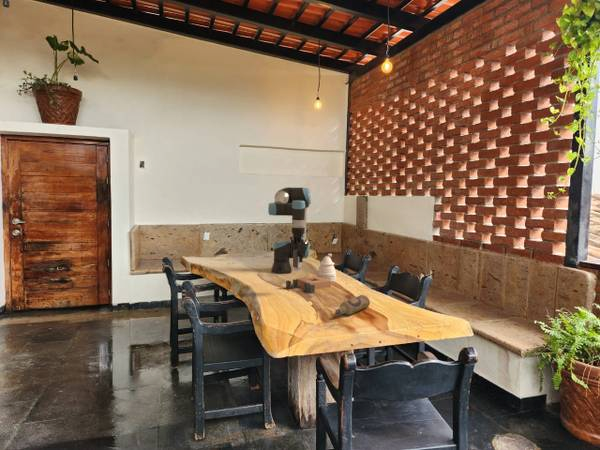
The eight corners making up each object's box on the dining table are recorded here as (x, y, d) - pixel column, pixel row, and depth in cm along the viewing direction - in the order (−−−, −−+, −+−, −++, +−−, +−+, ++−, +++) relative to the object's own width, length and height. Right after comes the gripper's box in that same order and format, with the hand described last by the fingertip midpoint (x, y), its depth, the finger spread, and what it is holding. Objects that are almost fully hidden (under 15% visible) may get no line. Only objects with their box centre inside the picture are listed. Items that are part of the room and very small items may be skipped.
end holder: (295, 284, 243) (295, 278, 243) (315, 281, 252) (315, 275, 252) (310, 290, 230) (310, 283, 229) (330, 286, 239) (330, 280, 238)
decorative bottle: (328, 317, 180) (329, 303, 180) (357, 305, 200) (358, 293, 199) (341, 320, 175) (342, 306, 175) (370, 308, 195) (370, 296, 194)
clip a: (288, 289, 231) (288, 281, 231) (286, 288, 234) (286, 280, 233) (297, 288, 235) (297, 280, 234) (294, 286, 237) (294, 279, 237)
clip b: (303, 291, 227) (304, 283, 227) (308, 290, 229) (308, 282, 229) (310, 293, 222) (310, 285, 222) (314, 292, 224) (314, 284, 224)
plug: (292, 270, 222) (293, 249, 220) (298, 269, 224) (298, 249, 223) (296, 271, 218) (296, 250, 217) (302, 270, 220) (302, 250, 219)
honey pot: (336, 278, 264) (336, 252, 263) (335, 282, 251) (336, 255, 250) (317, 277, 265) (318, 252, 264) (316, 281, 253) (317, 255, 251)
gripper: (285, 226, 224) (284, 264, 226) (301, 228, 210) (300, 270, 212) (295, 225, 228) (294, 263, 230) (312, 228, 214) (311, 268, 216)
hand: (297, 266), depth 221 cm, fingers closed on plug, 4 cm apart
